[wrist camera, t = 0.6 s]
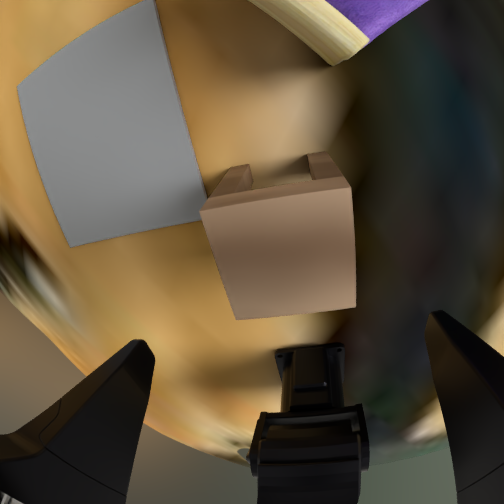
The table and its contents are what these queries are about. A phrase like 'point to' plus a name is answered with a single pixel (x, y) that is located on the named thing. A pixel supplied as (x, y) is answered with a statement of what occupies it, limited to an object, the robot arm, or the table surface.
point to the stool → (284, 242)
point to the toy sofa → (337, 22)
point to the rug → (113, 132)
